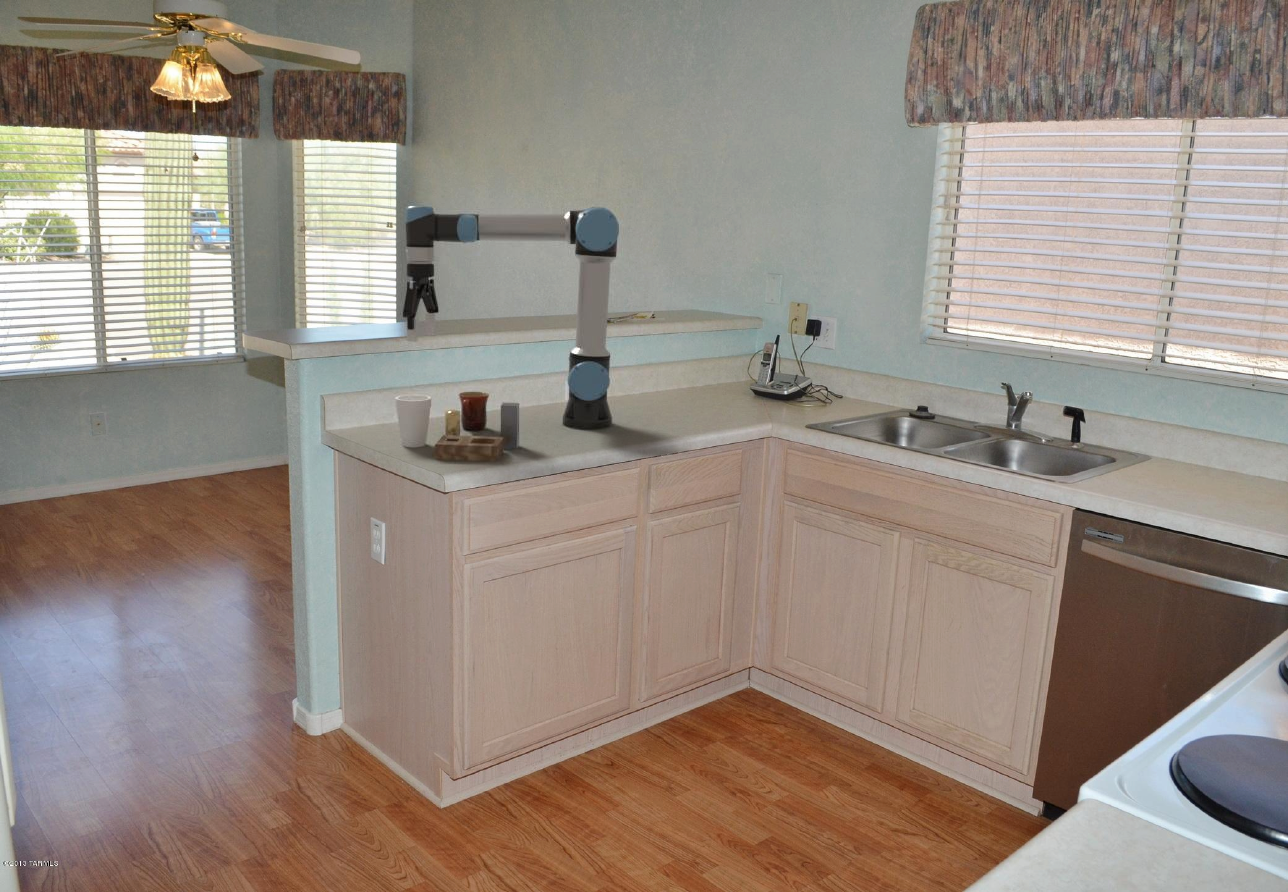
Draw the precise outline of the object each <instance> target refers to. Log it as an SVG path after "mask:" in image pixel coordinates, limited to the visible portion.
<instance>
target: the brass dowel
mask: <svg viewBox="0 0 1288 892" xmlns="http://www.w3.org/2000/svg"><path fill="white" fill-rule="evenodd" d="M444 421H445V422H444V423H445V425H444V426H445V427H444V428H445V431H444V432H445V434H444V435H455V436H461V411H460V410H457V409H456V410H455V409H448V410H445V412H444Z"/></svg>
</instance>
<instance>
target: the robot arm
mask: <svg viewBox="0 0 1288 892" xmlns="http://www.w3.org/2000/svg"><path fill="white" fill-rule="evenodd" d="M405 211H406V212H405V223H404V224H405V240H406V241H405V242H406V243H405V245H406V250H405V251H404V253H405V254H406V261H407V263H406V276H407V277H409V278H412V280H408V281H407V283H406V292H405V299H404V305H403V309H402V317H403V318H405V319H406V342H418V317H417V312H418V309H419V305H420V302H421V299H422V303H423V306H424V308H425V309H426V313H425V317H424V318H425V320H424V321H425V336H427V337H436V335H437V333H436V314H439V312H440V311H439V304H438V299H437V294H436V291H435V290H436V289H435V281H434V280H435V279H434V278H433V277H434V276H435V265H434V263H433V262H434V261H435V242H446V243H447V242H448V243H463V244H465V243H466V244H467V243H475V242H476V241H498V242H499V241H507V242H508V241H511V242H512V241H513V242H514V241H515V242H516V241H521V242H523V241H524V242H525V241H528V242H529V241H530V242H532V241H539V242H540V241H541V242H543V241H546V242H547V241H548V242H550V241H552V242H553V241H554V242H555V241H556V242H557V241H558V242H561V241H562V242H567V243H568V245H575V246H574V247H575V249H574V255H575V257H576V258H577V259H578V261H579V273H578V274H579V275H578V277H579V278H578V292H577V293H578V295H577V296H578V297H577V313H576V314H577V316H576V329H575V331H576V332H575V335H576V336H575V345H574V347H573V348H572V349H571V350H570V351H569V357H568V361H569V363H568V364H569V365H568V376H567V385H568V400H567V403H566V406H565V408H564V409H565V410H564V412H563V413H562V414H563V415H562V425H563V426H565V427H568V428H572V429H582V430H599V429H606V428H610V427H612V425H613V416H612V413H611V409H610V406H609V403H608V389H609V386H610V383H611V379H610V364H611V363H610V362H611V353H610V351H609V350H608V349H607V348H606V346H607V345H606V344H607V328H608V327H607V326H608V312H609V311H608V310H609V309H608V308H609V296H610V295H609V293H610V277H611V263H612V262H614V260H615V259H617V251H618V249H617V248H618V238H619V235H620V234H619V233H620V225H619V221H618V219H617V217H616V215H615V214H614V213H613V212H612V211H610V210H609V209H608V208H605V207H600V206H593V207H589V208H586V209H581V210H580V209H579V210H568V211H567V212H566V213H561V214H560V213H559V214H558V213H555V214H553V213H551V214H549V213H547V214H546V213H545V214H544V213H543V214H542V213H541V214H539V213H528V214H527V213H526V214H525V213H523V214H522V213H521V214H519V213H502V214H501V213H500V214H499V213H497V214H496V213H492V214H491V213H488V214H487V213H484V214H483V213H478V214H477V213H473V214H472V213H471V214H470V213H457V214H454V213H452V214H447V213H445V214H443V213H442V214H440V213H435V212H434V211H435V210H434V208H433V206H426V205H425V206H424V205H422V206H421V205H419V206H418V205H409V206H408V207H406V210H405Z"/></svg>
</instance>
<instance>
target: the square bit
mask: <svg viewBox="0 0 1288 892" xmlns="http://www.w3.org/2000/svg"><path fill="white" fill-rule="evenodd" d="M500 437H503V450H518V448H519V447H520V403H519V402H502V403H501V404H500Z"/></svg>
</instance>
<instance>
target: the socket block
mask: <svg viewBox="0 0 1288 892" xmlns="http://www.w3.org/2000/svg"><path fill="white" fill-rule="evenodd" d="M503 453H504V449H503V437H501V436H479V435H477V436H476V435H475V436H474V435H460V436H455V435H445V434H443V435H442V436H441V438H439V439H438V441H436V442H435V443H434V459H435V460H440V461H441V460H442V461H446V460H447V461H448V460H449V461H467V462H468V461H471V462H498V461H499V460H500V458H501V457H502V454H503Z"/></svg>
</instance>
